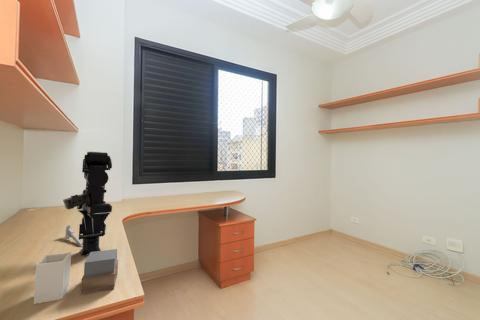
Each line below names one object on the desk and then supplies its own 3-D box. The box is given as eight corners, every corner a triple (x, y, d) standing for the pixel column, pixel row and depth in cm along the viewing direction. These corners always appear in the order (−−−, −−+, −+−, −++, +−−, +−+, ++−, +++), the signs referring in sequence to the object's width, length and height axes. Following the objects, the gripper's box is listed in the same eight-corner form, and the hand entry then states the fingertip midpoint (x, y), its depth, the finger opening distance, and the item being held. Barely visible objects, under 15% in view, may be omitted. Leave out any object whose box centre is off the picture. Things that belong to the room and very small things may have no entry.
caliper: (65, 237, 105) (65, 224, 105) (67, 237, 106) (68, 224, 106) (81, 247, 93) (82, 233, 93) (84, 247, 94) (85, 232, 94)
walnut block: (88, 277, 69) (89, 263, 69) (117, 273, 72) (118, 259, 72) (80, 295, 59) (81, 278, 60) (114, 289, 63) (114, 273, 63)
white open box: (44, 290, 61) (46, 255, 61) (69, 286, 63) (71, 252, 64) (33, 304, 55) (36, 264, 55) (61, 299, 58) (64, 261, 58)
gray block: (89, 264, 68) (90, 252, 68) (116, 261, 71) (117, 248, 71) (83, 276, 61) (84, 262, 61) (113, 272, 64) (114, 258, 64)
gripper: (61, 186, 77) (56, 231, 75) (73, 187, 65) (67, 240, 63) (97, 186, 85) (93, 227, 83) (114, 187, 73) (110, 234, 71)
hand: (91, 231), depth 75 cm, fingers open, 9 cm apart
